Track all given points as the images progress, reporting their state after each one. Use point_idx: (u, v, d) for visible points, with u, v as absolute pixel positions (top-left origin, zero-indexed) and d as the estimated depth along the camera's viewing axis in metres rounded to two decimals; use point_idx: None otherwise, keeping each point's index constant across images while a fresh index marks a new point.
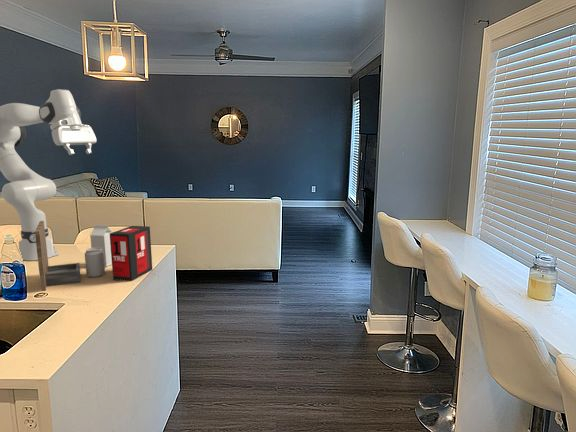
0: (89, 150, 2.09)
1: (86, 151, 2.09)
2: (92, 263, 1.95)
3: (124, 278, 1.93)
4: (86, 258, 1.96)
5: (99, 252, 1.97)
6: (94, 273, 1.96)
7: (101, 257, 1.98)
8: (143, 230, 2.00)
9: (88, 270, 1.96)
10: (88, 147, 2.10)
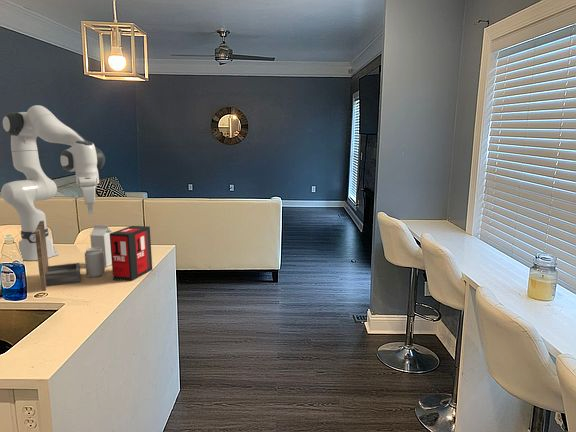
0: None
1: None
2: (92, 263, 1.95)
3: (124, 278, 1.93)
4: (86, 258, 1.96)
5: (99, 252, 1.97)
6: (94, 273, 1.96)
7: (101, 257, 1.98)
8: (143, 230, 2.00)
9: (88, 270, 1.96)
10: None
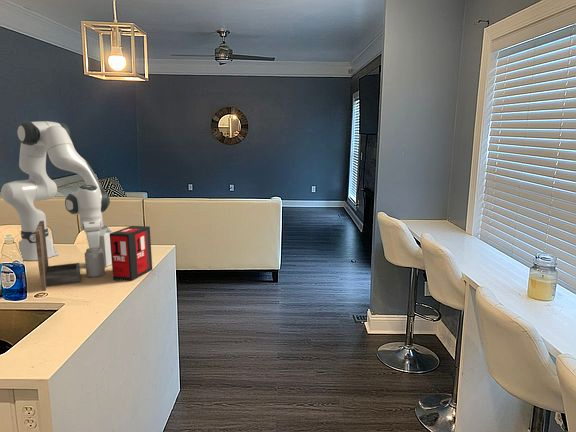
0: None
1: None
2: (92, 263, 1.95)
3: (124, 278, 1.93)
4: (86, 258, 1.96)
5: (99, 252, 1.97)
6: (94, 273, 1.96)
7: (101, 257, 1.98)
8: (143, 230, 2.00)
9: (88, 270, 1.96)
10: None
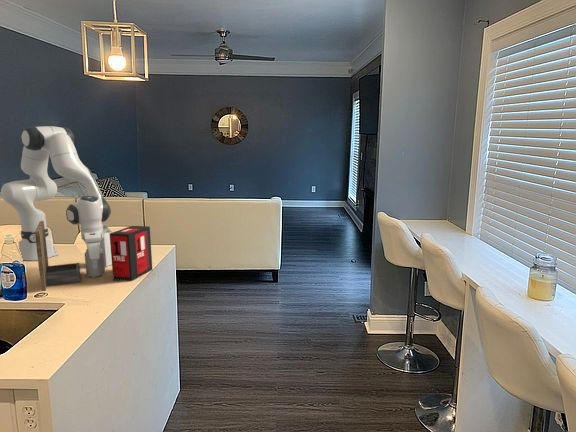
0: None
1: None
2: (92, 263, 1.95)
3: (124, 278, 1.93)
4: (86, 258, 1.96)
5: None
6: (94, 273, 1.96)
7: (101, 257, 1.98)
8: (143, 230, 2.00)
9: (88, 270, 1.96)
10: None
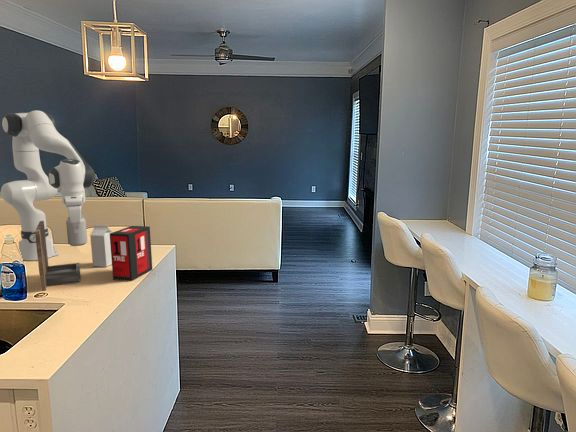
0: None
1: None
2: None
3: (124, 278, 1.93)
4: (68, 226, 1.91)
5: (81, 220, 1.92)
6: (76, 241, 1.91)
7: (83, 225, 1.93)
8: (143, 230, 2.00)
9: (70, 238, 1.91)
10: None
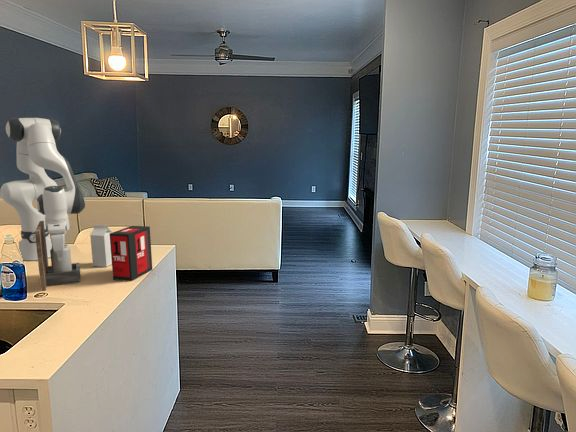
0: None
1: None
2: None
3: (124, 278, 1.93)
4: (51, 255, 1.89)
5: (65, 249, 1.90)
6: (60, 271, 1.90)
7: (67, 254, 1.91)
8: (143, 230, 2.00)
9: (54, 268, 1.90)
10: None
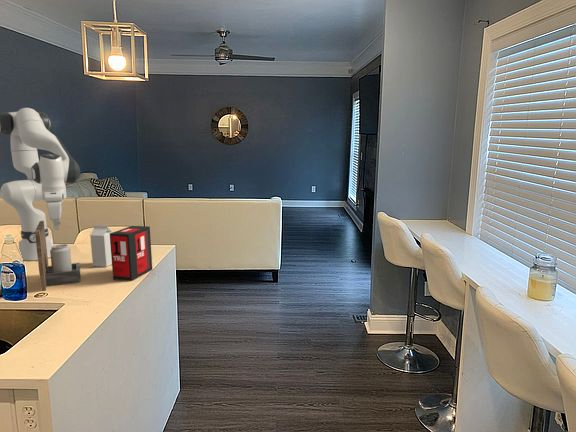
0: (59, 222, 1.94)
1: None
2: (58, 260, 1.89)
3: (124, 278, 1.93)
4: (51, 255, 1.89)
5: (65, 249, 1.90)
6: (60, 271, 1.90)
7: (67, 254, 1.91)
8: (143, 230, 2.00)
9: (54, 268, 1.90)
10: None
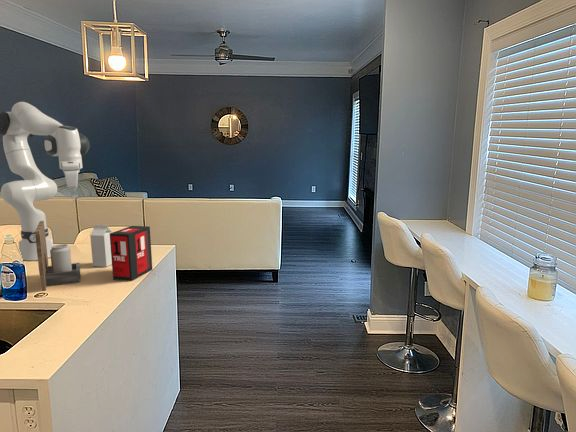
0: None
1: None
2: (58, 260, 1.89)
3: (124, 278, 1.93)
4: (51, 255, 1.89)
5: (65, 249, 1.90)
6: (60, 271, 1.90)
7: (67, 254, 1.91)
8: (143, 230, 2.00)
9: (54, 268, 1.90)
10: None
